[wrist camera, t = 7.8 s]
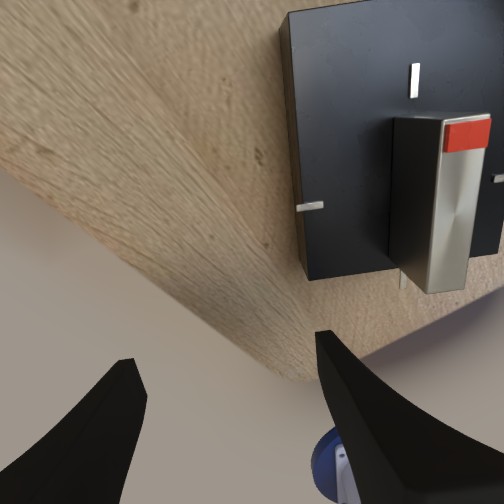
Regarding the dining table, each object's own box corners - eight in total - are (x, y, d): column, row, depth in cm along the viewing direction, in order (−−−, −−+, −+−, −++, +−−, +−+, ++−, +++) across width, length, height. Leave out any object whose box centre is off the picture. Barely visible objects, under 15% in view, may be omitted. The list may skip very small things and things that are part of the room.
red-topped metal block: (419, 254, 18) (468, 292, 15) (387, 258, 18) (428, 298, 15) (431, 111, 15) (497, 111, 12) (393, 116, 15) (446, 118, 12)
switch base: (467, 253, 22) (502, 274, 19) (295, 278, 22) (304, 303, 19) (503, -7, 16) (561, -32, 13) (271, 29, 16) (279, 12, 14)
